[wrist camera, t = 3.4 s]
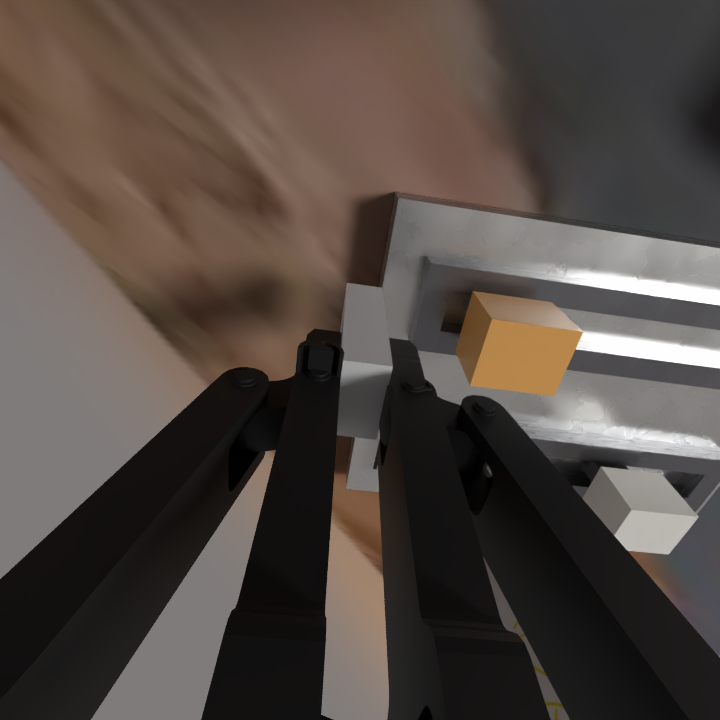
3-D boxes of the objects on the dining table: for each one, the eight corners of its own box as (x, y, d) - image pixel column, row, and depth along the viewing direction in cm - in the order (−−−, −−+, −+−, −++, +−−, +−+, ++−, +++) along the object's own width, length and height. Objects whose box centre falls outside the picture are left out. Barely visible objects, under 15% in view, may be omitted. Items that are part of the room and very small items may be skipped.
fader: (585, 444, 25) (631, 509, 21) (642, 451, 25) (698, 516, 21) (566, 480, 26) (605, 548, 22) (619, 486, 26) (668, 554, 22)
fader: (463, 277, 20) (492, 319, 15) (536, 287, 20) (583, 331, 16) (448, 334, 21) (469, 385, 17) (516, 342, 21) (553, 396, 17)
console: (395, 191, 20) (400, 202, 17) (846, 262, 22) (918, 283, 19) (346, 466, 29) (345, 503, 26) (670, 501, 30) (701, 538, 28)
